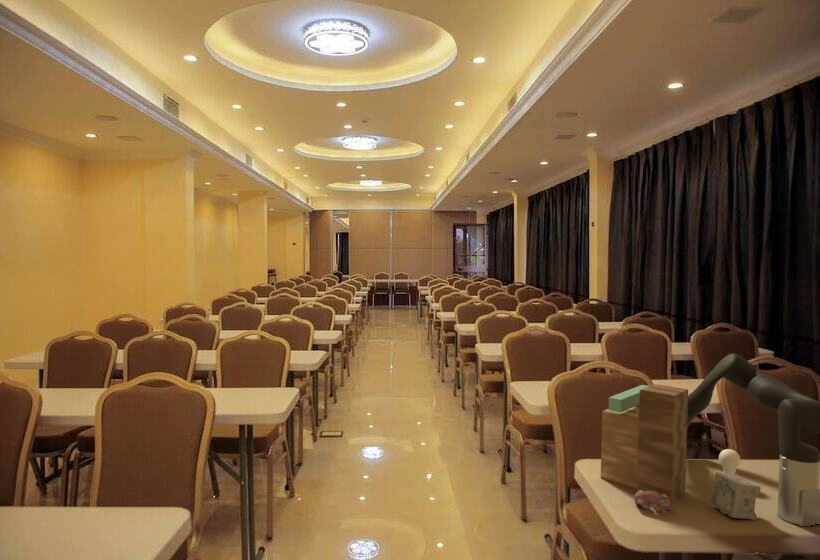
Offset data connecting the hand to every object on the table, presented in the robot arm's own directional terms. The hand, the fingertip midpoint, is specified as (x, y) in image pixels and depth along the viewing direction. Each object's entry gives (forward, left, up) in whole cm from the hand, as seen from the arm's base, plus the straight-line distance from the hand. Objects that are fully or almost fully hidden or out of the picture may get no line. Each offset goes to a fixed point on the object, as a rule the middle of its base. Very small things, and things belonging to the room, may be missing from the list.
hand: (641, 390), depth 197 cm
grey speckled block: (-36, -7, -28) cm, 46 cm away
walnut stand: (-20, +5, -27) cm, 34 cm away
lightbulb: (-16, -22, -28) cm, 38 cm away
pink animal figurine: (-29, +15, -28) cm, 43 cm away
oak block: (-6, +8, -27) cm, 29 cm away
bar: (-4, +6, -3) cm, 8 cm away
